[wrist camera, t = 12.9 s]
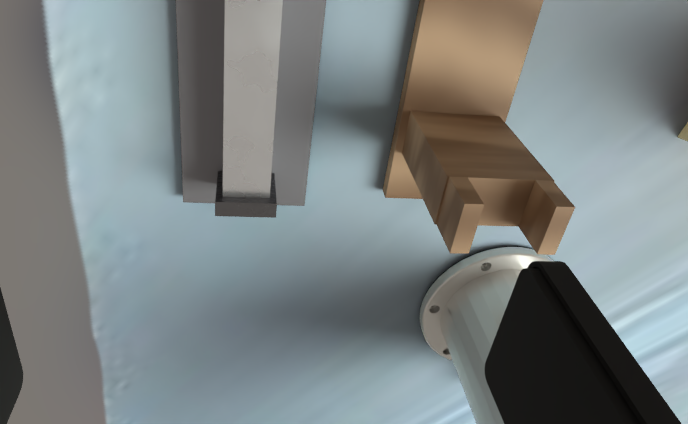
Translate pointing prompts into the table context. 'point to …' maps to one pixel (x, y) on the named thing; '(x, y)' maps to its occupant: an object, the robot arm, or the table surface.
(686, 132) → the milk carton
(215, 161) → the mat
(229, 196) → the rail
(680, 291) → the table surface
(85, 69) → the table surface
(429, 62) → the rack
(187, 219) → the table surface
